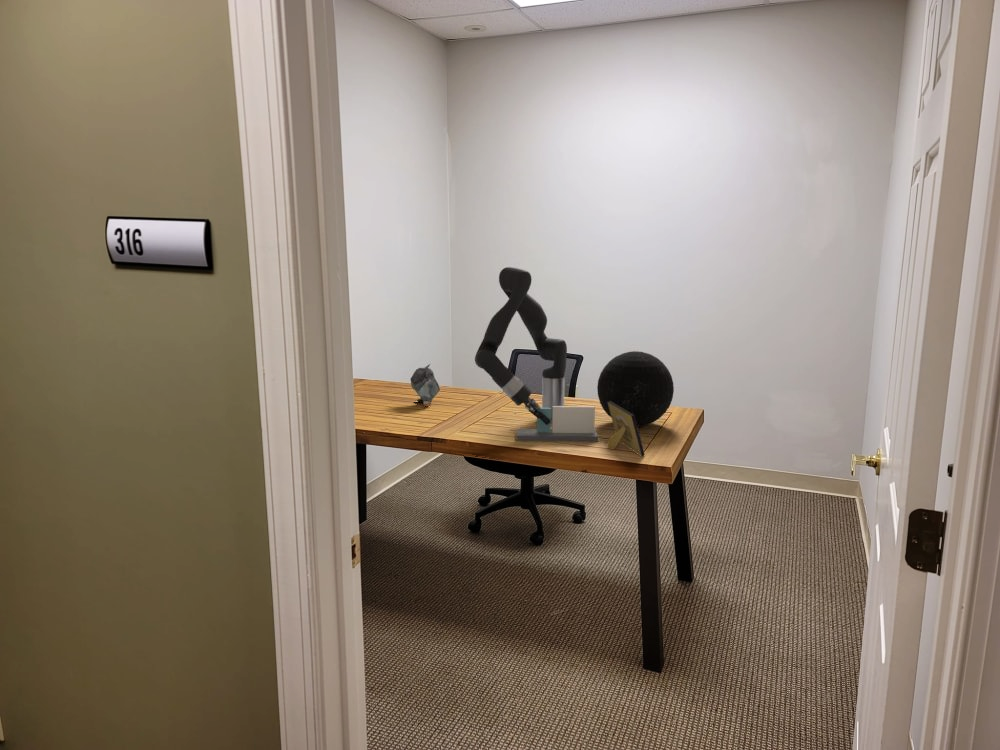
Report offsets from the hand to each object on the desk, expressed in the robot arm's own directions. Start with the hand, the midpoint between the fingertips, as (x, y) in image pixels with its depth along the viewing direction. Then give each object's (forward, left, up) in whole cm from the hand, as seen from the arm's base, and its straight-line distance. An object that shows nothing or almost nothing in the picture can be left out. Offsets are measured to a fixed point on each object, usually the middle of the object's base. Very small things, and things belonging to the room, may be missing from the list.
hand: (548, 422), depth 263 cm
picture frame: (+13, +25, -6) cm, 29 cm away
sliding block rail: (0, +3, -6) cm, 7 cm away
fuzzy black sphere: (-20, +35, -6) cm, 41 cm away
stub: (0, -2, -4) cm, 4 cm away
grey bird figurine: (-54, -54, -6) cm, 77 cm away
